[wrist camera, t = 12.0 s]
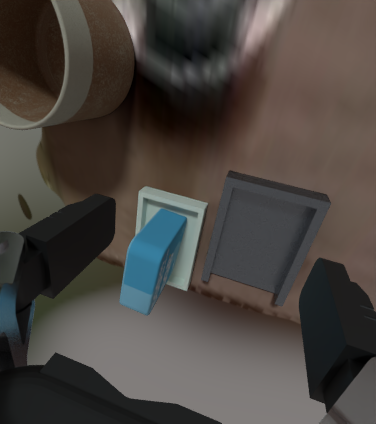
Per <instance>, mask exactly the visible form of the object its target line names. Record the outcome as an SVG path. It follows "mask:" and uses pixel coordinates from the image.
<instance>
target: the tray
mask: <svg viewBox="0 0 376 424" xmlns="http://www.w3.org/2000/svg"><path fill="white" fill-rule="evenodd" d="M207 206H208V203H205V202H202V201H198V200H194V199H191V198H187V197H183V196H180V195H176V194H172V193H169V192H165V191H162V190H158V189H154V188H151V187H147V186H145V187H144V188H142V189H141V190H140V191H139V197H138V209H137V222H136V234H135V236H136V235H137V234H138V232H139V231H140V230H141V229H142V228H143V227H144V226H145V225H146V224H147V223H148V222H149V220H150V219H151V218H152V217H153V216H154V215H155V214H156V213H157V212H158V211H159V210H160V209H161V208H163V209H165V210H168V211H171V212H174V213H177V214H179V215H182V216H185V217H187V223H186V226H185V230H184V234H183V237H182V241H181V244H180V248H179V252H178V255H177V259H176V262H175V266H174V269H173V271H172V273H171V275H170V277H169V279H168V281H167V283H166V284H167V285H170V286H173V287H176V288H179V289H182V290H185V291H187V290H188V287H189V285H190V282H191V278H192V273H193V269H194V264H195V260H196V255H197V251H198V246H199V242H200V237H201V233H202V228H203V224H204V219H205V215H206V210H207Z"/></svg>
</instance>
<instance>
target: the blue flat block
mask: <svg viewBox="0 0 376 424" xmlns="http://www.w3.org/2000/svg"><path fill="white" fill-rule="evenodd" d="M186 223H187V217H185V216H182V215H179V214H177V213H174V212H171V211H168V210H165V209H163V208H161V209H160V210H159V211H158V212H157V213H156V214H155V215H154V216H153V217H152V218H151V219H150V220H149V222H148V223H147V224H146V225H145V226H144V227H143V228H142V229H141V230H140V231H139V232H138V234H137V235H136V236H135V237H134V238H133V239H132V241H131V243H130V245H129V247H128V250H127V256H126V262H125V269H124V275H123V282H122V288H121V295H120V304H121V305H124V306H126V307H128V308H130V309H133V310H135V311H137V312H140V313H142V314H145V315H149V314H150V312H151V310H152V309H153V307H154V305H155V303H156V301H157V299H158V297H159V295H160V294H161V292H162V290H163V288H164V286H165V284H166V283H167V281H168V279H169V277H170V275H171V273H172V271H173V269H174V266H175V262H176V259H177V255H178V252H179V248H180V244H181V241H182V237H183V234H184V230H185V226H186Z"/></svg>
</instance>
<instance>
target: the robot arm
mask: <svg viewBox="0 0 376 424" xmlns="http://www.w3.org/2000/svg"><path fill="white" fill-rule="evenodd" d="M115 212H116V203H115V200H114V199H113V198H110V197H107V196H103V195H99V194H94V195H92V196H90V197H89V198H87V199H85V200H84V201H82V202H77V203H74V204H70V205H67V206H66V207H64V208H62V209H60V210H59V211H58V212H55V213H53V214H52V215H50V217H46V218H45V219H43V220H41V221H39V222H38V223H36V224H34V225H32V226H31V227H29V228H27V229H25V230H24V231H22V232H20V233H15V232H8V231H2V232H0V424H222V423H220V422H218V421H216V420H213V419H211V418H209V417H206V416H204V415H202V414H199V413H197V412H194V411H192V410H190V409H188V408H185V407H183V406H180V405H178V404H173V403H163V402H154V401H146V400H138V399H130V398H127V397H125V396H124V395H123V394H122V393H121V392H119V391H118V390H117V389H116V388H115V387H114V386H112V385H111V384H110V383H109V382H108V381H107V380H105V379H104V378H103V377H102V376H101V375H100V374H99V373H97V372H96V371H95V370H94V369H93V368H91V367H88V366H86V365H84V364H82V363H79V362H77V361H74V360H72V359H70V358H67V357H65V356H63V355H60V354H58V353H55V354H54V355H53V356H52V357H51V358H50V360H49V361H48V362H47V363H46V364H45V365H28V366H27V354H28V347H29V340H30V334H31V327H32V320H33V314H34V309H35V301H34V299H35V298H36V297H37V296H38V295H39V294H42V295H44V296H47V297H50V298H52V299H54V298H55V297H56V296H57V295H58V294H59V293H60V292H61V291H62V290H63V289H64V288H65V287H66V286H67V285H68V284H69V283H70V282H71V281H72V280H73V279H74V278H75V277H76V276H77V275H79V274H80V273H81V272H82V271H83V270H84V269H85V268H86V267H87V266H88V265H89V264H90V263H91V262H92V261H93V260H94V259H95V258H96V257H97V256H98V255H99V254H100V253H101V252H102V251H103V250H105V249H106V248H107V247H108V246H109V245H110V243H111V242H112V240H113V237H114V234H115ZM299 312H300V320H301V328H302V337H303V345H304V353H305V362H306V370H307V378H308V387H309V395H310V398H311V399H314V400H316V401H319V402H322V403H324V404H325V406H326V412H327V414H326V415H325V417H324V418H323V419H322V420H321V422H320V423H319V424H376V312H375V311H374V308H373V305H372V303H371V301H370V299H369V297H368V295H367V294H366V293H365V292H364V291H363V290H362V289H361V287H360V286H359V285H358V284H357V283H355V282H351V281H350V279H349V276H348V274H347V271H346V269H345V267H344V265H343V264H340V263H337V262H333V261H330V260H326V259H323V258H319V259H317V261H316V262H315V264H314V266H313V268H312V270H311V272H310V274H309V276H308V278H307V280H306V283H305V285H304V287H303V289H302V291H301V294H300V298H299Z"/></svg>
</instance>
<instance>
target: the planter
mask: <svg viewBox="0 0 376 424" xmlns="http://www.w3.org/2000/svg"><path fill="white" fill-rule="evenodd" d="M133 74H134V49H133V44H132V39H131V36H130V32H129V30H128V27H127V25H126V22H125V20H124V18H123V16H122V15H121V13H120V11H119V10H118V8H117V7H116V6H115V4H114V3H113V2H112V1H111V0H0V125H2V126H4V127H7V128H11V129H17V130H28V129H34V128H40V127H46V126H52V125H58V124H63V123H69V122H75V121H81V120H87V119H92V118H98V117H102V116H105V115H107V114H109V113H111V112H113V111H114V110H115V109H116V108H118V107H119V106H120V104H121V103H122V102H123V101H124V99H125V97H126V96H127V94H128V92H129V89H130V86H131V83H132V79H133Z"/></svg>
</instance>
